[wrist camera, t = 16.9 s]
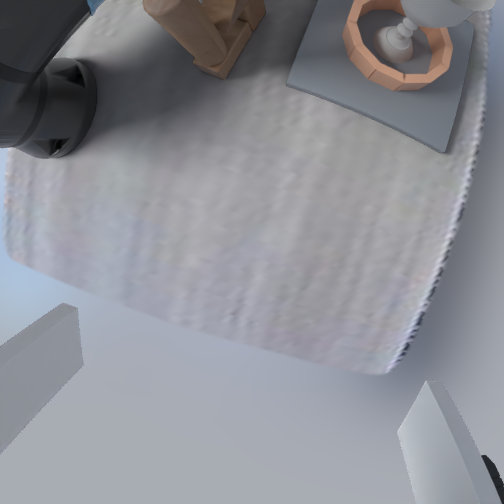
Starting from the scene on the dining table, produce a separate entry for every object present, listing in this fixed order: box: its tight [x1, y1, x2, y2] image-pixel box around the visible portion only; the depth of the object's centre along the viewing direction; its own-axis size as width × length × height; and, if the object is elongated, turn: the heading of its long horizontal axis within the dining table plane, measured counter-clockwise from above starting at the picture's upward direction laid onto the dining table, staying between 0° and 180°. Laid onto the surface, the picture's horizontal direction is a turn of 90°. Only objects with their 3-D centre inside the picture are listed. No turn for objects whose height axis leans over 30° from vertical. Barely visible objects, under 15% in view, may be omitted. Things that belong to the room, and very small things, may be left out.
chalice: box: [373, 0, 496, 64], centre depth 20 cm, size 7×7×18 cm
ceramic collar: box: [342, 0, 453, 91], centre depth 27 cm, size 12×12×4 cm
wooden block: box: [143, 0, 266, 79], centre depth 24 cm, size 4×11×18 cm, turn 152°
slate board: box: [286, 0, 474, 153], centre depth 30 cm, size 20×20×2 cm
